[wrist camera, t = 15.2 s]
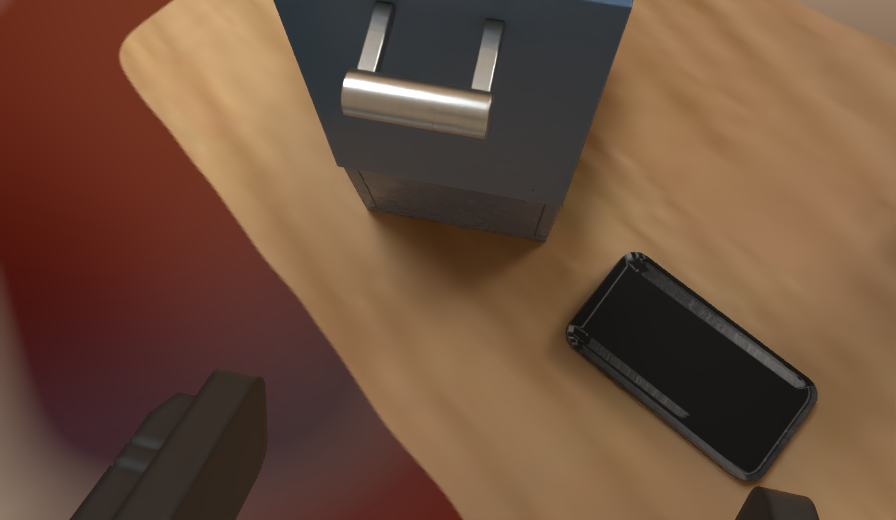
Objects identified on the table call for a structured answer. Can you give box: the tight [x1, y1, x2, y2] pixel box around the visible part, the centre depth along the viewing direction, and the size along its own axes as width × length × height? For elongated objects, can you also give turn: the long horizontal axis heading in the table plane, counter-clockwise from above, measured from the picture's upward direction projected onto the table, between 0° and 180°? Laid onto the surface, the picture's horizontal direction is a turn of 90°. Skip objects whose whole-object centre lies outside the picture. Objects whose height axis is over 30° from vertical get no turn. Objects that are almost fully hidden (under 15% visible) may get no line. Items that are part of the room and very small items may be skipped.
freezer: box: [344, 167, 560, 242], centre depth 45 cm, size 16×13×9 cm
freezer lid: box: [274, 0, 633, 207], centre depth 30 cm, size 17×13×5 cm
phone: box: [566, 252, 817, 481], centre depth 45 cm, size 8×1×15 cm
